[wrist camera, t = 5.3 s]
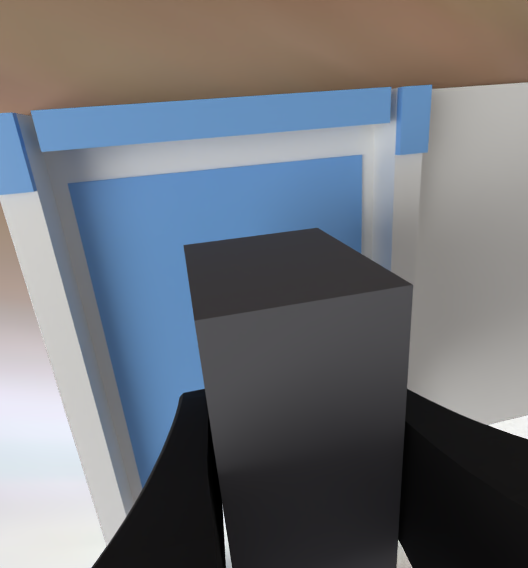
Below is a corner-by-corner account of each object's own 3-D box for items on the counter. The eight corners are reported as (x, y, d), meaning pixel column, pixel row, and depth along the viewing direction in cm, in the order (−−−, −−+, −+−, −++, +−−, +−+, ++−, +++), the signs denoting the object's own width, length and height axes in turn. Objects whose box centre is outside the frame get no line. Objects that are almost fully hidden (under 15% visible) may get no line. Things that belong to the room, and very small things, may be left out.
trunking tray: (571, 389, 23) (626, 424, 20) (115, 497, 18) (105, 560, 16) (643, 76, 17) (734, 64, 14) (8, 120, 13) (-36, 114, 10)
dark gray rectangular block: (325, 485, 14) (392, 633, 10) (224, 510, 13) (249, 680, 9) (317, 227, 11) (413, 285, 6) (183, 245, 10) (194, 320, 6)
